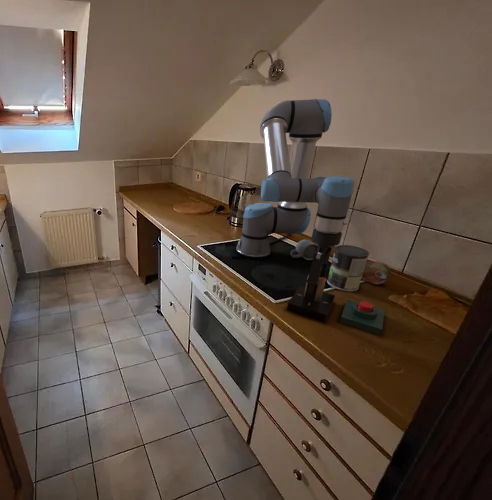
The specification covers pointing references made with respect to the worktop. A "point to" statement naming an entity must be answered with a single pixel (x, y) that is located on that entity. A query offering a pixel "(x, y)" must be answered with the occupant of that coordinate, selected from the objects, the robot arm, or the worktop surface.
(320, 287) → the tan upright slab
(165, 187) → the worktop surface
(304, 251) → the ceramic mug
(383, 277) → the tin
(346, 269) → the coffee can
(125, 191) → the worktop surface
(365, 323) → the block
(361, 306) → the button
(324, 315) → the black rectangular base
